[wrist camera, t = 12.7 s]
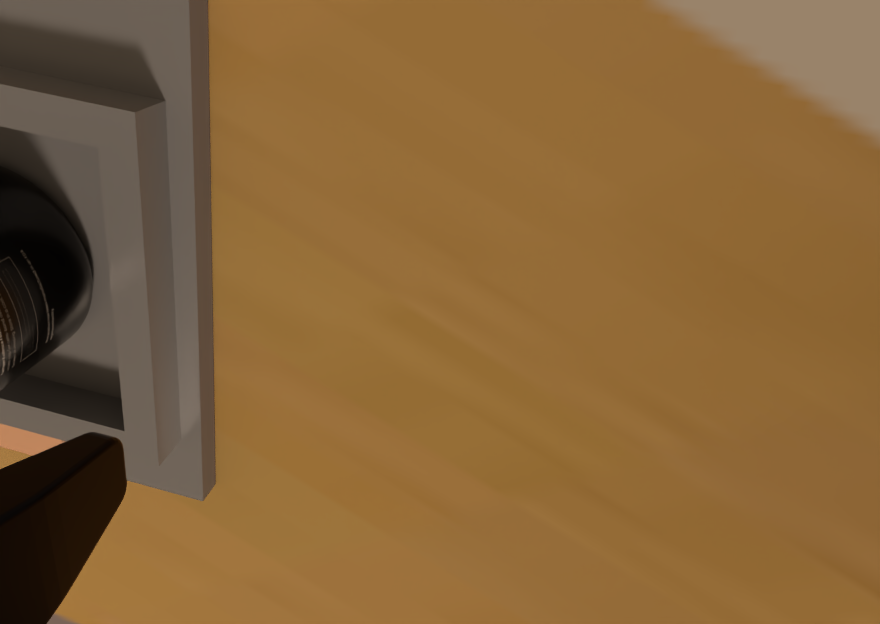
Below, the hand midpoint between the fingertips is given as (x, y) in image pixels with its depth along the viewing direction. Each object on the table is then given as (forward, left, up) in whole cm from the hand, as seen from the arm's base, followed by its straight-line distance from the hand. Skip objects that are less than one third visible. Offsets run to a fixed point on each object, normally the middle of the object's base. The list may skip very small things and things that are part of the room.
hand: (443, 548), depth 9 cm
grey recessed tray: (+17, +5, -13) cm, 22 cm away
